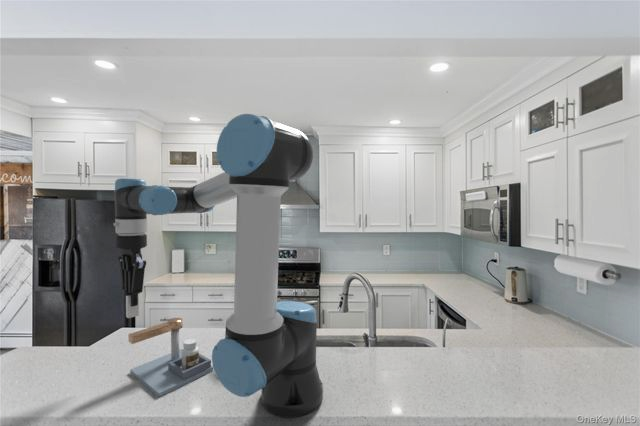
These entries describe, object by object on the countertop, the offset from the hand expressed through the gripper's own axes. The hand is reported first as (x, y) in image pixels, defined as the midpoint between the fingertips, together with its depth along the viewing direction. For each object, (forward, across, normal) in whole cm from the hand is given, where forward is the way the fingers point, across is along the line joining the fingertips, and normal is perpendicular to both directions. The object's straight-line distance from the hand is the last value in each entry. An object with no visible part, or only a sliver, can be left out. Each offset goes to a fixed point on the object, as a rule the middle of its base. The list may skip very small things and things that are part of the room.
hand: (132, 316), depth 86 cm
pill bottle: (+14, +14, +9) cm, 22 cm away
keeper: (+5, +6, +4) cm, 9 cm away
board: (+15, +10, +6) cm, 19 cm away
